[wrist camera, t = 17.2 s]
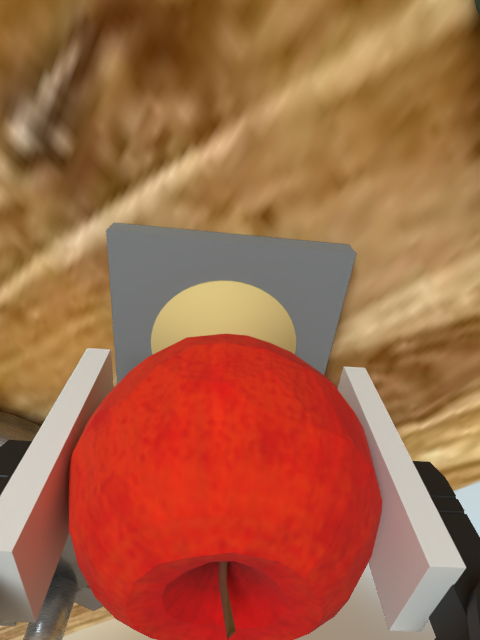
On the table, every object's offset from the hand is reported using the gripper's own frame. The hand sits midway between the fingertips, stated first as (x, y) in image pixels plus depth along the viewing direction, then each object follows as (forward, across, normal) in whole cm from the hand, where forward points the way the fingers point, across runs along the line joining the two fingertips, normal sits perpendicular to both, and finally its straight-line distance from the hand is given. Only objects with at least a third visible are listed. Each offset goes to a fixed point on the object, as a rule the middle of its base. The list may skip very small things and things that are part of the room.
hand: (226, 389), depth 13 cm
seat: (+4, 0, 0) cm, 4 cm away
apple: (0, 0, 0) cm, 0 cm away
